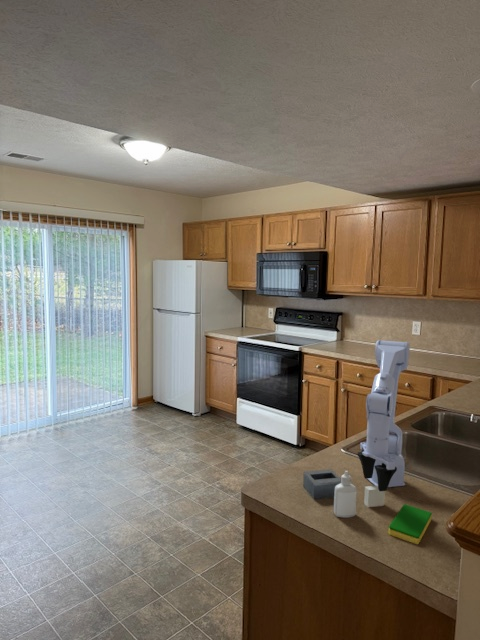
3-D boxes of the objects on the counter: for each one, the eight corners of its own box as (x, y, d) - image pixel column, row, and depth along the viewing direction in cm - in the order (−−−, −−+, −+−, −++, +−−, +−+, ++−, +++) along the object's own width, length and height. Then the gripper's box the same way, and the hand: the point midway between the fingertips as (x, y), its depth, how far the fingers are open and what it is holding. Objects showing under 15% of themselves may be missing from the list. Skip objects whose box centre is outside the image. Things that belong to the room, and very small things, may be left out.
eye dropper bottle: (353, 521, 114) (356, 476, 113) (332, 516, 116) (334, 472, 115) (356, 513, 118) (358, 469, 117) (335, 508, 120) (337, 465, 119)
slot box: (330, 483, 135) (331, 469, 134) (342, 496, 127) (343, 480, 126) (303, 486, 132) (303, 471, 132) (313, 499, 125) (314, 483, 124)
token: (380, 501, 124) (381, 485, 124) (384, 505, 122) (385, 488, 122) (364, 503, 123) (365, 486, 123) (367, 507, 121) (368, 490, 121)
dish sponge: (387, 535, 109) (388, 526, 108) (403, 511, 120) (404, 503, 120) (418, 546, 104) (418, 536, 104) (431, 521, 116) (432, 512, 115)
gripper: (351, 428, 127) (349, 473, 128) (378, 447, 113) (376, 498, 114) (373, 427, 128) (371, 471, 130) (403, 445, 114) (400, 495, 116)
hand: (375, 484), depth 122 cm, fingers open, 7 cm apart
